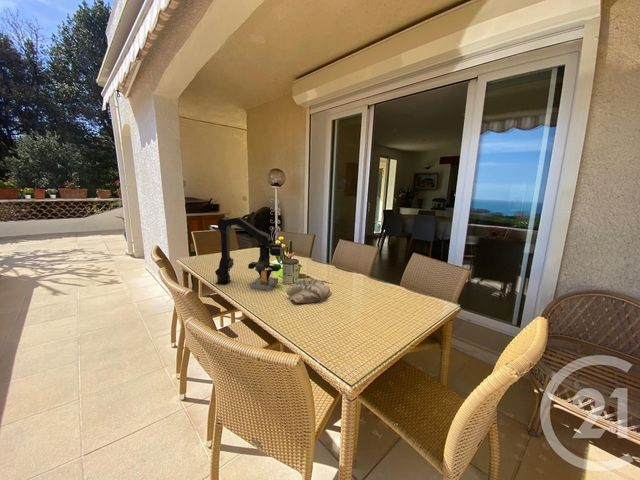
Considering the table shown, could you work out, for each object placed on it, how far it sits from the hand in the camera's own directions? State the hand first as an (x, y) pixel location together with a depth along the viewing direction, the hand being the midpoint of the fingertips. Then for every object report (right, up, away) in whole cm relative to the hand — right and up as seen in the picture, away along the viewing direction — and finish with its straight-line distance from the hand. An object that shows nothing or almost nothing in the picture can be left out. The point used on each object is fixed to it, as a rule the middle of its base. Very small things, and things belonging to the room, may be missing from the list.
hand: (264, 280), depth 153 cm
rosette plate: (0, -3, +1) cm, 4 cm away
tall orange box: (0, -2, 0) cm, 2 cm away
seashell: (+28, -7, -11) cm, 31 cm away
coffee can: (+14, -3, +8) cm, 17 cm away
